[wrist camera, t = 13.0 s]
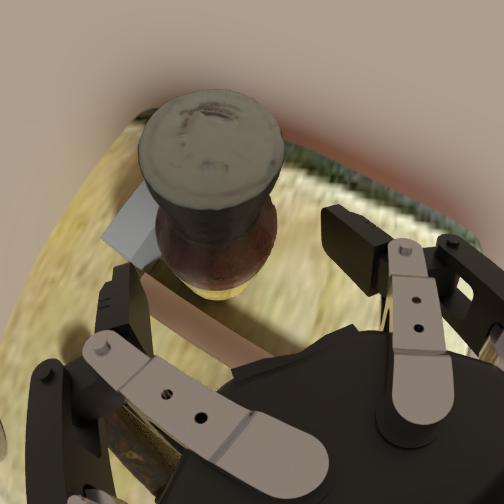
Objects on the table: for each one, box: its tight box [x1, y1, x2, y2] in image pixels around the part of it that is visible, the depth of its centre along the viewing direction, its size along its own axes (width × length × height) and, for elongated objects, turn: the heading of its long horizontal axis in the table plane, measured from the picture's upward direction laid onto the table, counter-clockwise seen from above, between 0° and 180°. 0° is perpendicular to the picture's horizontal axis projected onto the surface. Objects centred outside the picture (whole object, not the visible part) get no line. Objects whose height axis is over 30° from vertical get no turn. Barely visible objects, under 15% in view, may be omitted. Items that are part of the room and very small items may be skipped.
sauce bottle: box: [138, 89, 285, 300], centre depth 17 cm, size 7×6×20 cm
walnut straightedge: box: [140, 273, 275, 369], centre depth 24 cm, size 2×23×3 cm, turn 58°
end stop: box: [100, 180, 161, 274], centre depth 24 cm, size 8×3×6 cm, turn 148°
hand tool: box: [104, 406, 174, 504], centre depth 20 cm, size 19×4×5 cm, turn 35°
